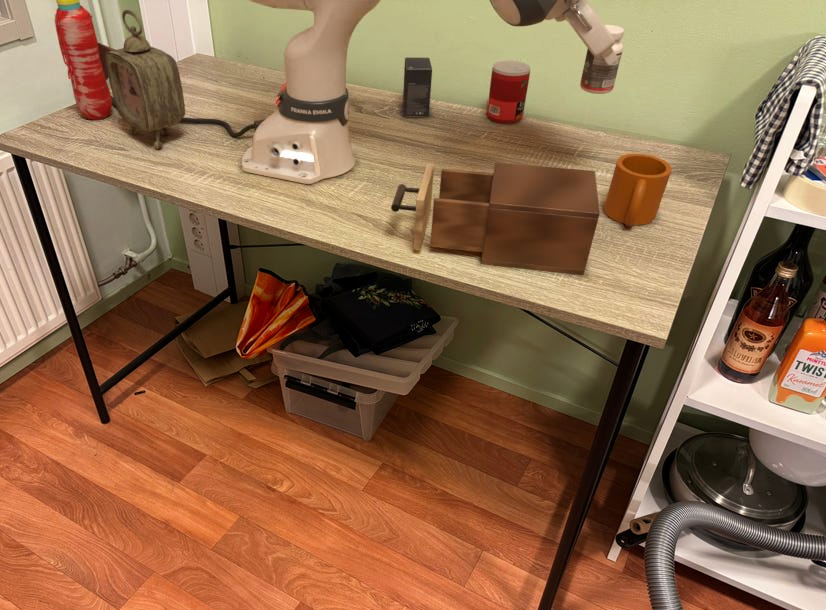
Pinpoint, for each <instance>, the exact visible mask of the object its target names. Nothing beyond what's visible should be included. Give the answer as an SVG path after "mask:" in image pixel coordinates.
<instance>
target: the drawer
mask: <svg viewBox="0 0 826 610" xmlns="http://www.w3.org/2000/svg"><path fill="white" fill-rule="evenodd" d="M434 171H435V164H434V163H426V165H425V170H424V172H423V176H422V180H421V182H420V186H419V188H417V187H407V186H406V185H405V184H403V183H401V184H398V186H397V188H396V191H395V194H394V197H393V200H392V203H391V206H390V210H391V211H392V212H394V213H398V212H399V211H400V210H401V211H411V212H415V213H414V214H415V218H414V231H413V232H414V233H413V250H414V251H415V250H417V251H421V250H422V248H423V247H422V246H423V243H424V239H425V235H426V231H427V227H428V223H429V220H430V215H431V212H432V217H431V218H432V219H431V229H430V242H429V243H430V244H429V247H432V248H442V249H451V250H459V251H467V252H468V251H469V252H477V253H483V247H484V240H485V233H486V225H487V218H488V211H489V204H490V196H491V188H492V181H493V173H494V172H487V171H485V172H484V171H475V170H465V169H464V170H462V169H452V168H441V171H440V183H439V195H438V197H434V198H433V184H434ZM406 193H414V194H417V196H416V200H415V205H407V204H402V203H403V200H404V197H405V194H406ZM432 198H433V205H432ZM432 206H433V207H432ZM431 208H432V209H431Z"/></svg>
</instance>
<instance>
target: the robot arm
mask: <svg viewBox="0 0 826 610" xmlns="http://www.w3.org/2000/svg"><path fill="white" fill-rule="evenodd" d="M248 1H250V2H253V3H255V4H258V5H262V6H264V7H269V8H272V9H278V10H279V9H280V10H296V11H309V12H312V13H313V24H312V26H310V27H308V28H305V29H304V30H302V31H300V32H299V33H297V34H295V35H294V36H292V37H291V38H290V39H289V40H288V42H287V44H286V45H285V48H284V53H283V58H284V73H285V83H283V84H282V86H281V87H280V89H279V92H278V93H277V95H276V99H275V101H274V102H275V107H276V108H277V110H275V111H274V112H273V113H272V114H271V115H269V116H268V117H266V118H263V119H258V120H253V122H252V123H251V124H248V125H246V126H244V127H243V128H242V129H240V130H239V131H238V132H234V131H233V128H232V127H231V125H230V124H229V123H228V122H227V121H225V120H222V119H217V118H201V117H200V118H198V117H197V118H196V117H183V118H182V120H181V121H180V122H179V123H188V124H189V123H192V124H215V125H220V126H223V127H225V129H226V130H227V132H228V134H229V135H230V136H231V137H232V138H240V137H242V136H243V135H245V134H246V133H247V132H248V131H250V130H254V131H253V132H254V134H253V136H252V141H251V145H250V146H249V147H248V148H247V150H246V151H245V152H244V153H243V155H242V158H241V169H242V171H243V172H246V173H250V174H255V175H259V176H264V177H268V178H269V177H270V178H274V179H280V180H284V181H291V182H293V183H300V184H304V185H305V184H306V185H312V184H315V183H318V182H319V181H320V182H321V181H322V180H325V179H331V178H335V177H339V176H341V175H343V174H345V173H347V172H349V171H350V170H352V169H353V168H354V166H355V165H356V157H355V155H354V152H353V147H352V143H351V137H350V131H349V120H350V98H349V89H348V88H347V61H348V49H349V44H350V41H351V38H352V35H353V33H354V31H355V29H356V28H357V26H358V25H359V23H360V22H361V20H362V19H364V18H365V16H366V15H367V14H369V12H371V11H372V10H374V9H375V8H376V7H377V6H378V5H379V3H380V2H381V1H382V0H248ZM587 1H588V0H489V2H490V4H491V6H492V8H493V10H494V12H495V13H496V14H497V15H498V17H500V19H502V20H503V21H504V22H505V23H506V24H508V25H510V26H512V27H528V26H533V25H538V24H540V23H542V22H544V21H551V20H555V22H557V23H559V22H560V23H562V22H564V21H566V22H567V23H568V24H569V25H570V27H572V29H573V30H574V32H575V33H576V34H577V36H578V38H579V39H580V40H581V41H582V43H583V44H584V46H586V48H587V49H589V51H590V52H591V53H592V55H593V56H594V57H596V58H599V57H600V56H601V57H602V58H603V59H604V60H605V61H606V63H607V64H608V65H612V64H613V63H614V62H615V61H616V60H617V59H618V57H617V55H616V54H615V52H614V51H613V49H612V46H613V45H614V44H615V40H614V38H613V36H612V35H611V34H610V32H609V31H608V29H607V28H606V27H605V25H606V24H605V23H604V22H603V21H602V19H601V18H600V17H599V16H598V14H597V13H596V11H595V10H594V9H593V8H592V6H591V5H590V4H589V3H588V2H587ZM111 99H112V106H113V107H115V108H116V109H117V107H116V104H115V101H114V97H113V95H111Z"/></svg>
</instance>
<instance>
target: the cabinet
mask: <svg viewBox="0 0 826 610" xmlns="http://www.w3.org/2000/svg"><path fill="white" fill-rule="evenodd" d="M492 173H493V181H492V188H491V196H490V204H489V211H488V218H487V225H486V233H485V240H484V247H483V252H481V253H482V254H481V262H480V263H481V265H489V266H498V267H507V268H516V269H525V270H534V271H543V272H553V273H562V274H571V275H579V276H584V274H585V271H586V268H587V264H588V259H589V256H590V252H591V248H592V245H593V241H594V237H595V235H596V230H597V226H598V222H599V218H600V214H601V212H600V203H599V194H598V186H597V177H596V176H597V175H596V170H590V169H589V170H588V169H577V168H566V167H555V166H553V167H552V166H541V165H531V164H530V165H529V164H519V163H518V164H517V163H509V162H507V163H506V162H497V161H495V162H494V166H493V172H492Z"/></svg>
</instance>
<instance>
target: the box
mask: <svg viewBox="0 0 826 610" xmlns="http://www.w3.org/2000/svg"><path fill="white" fill-rule="evenodd" d="M432 78H433V67H432V62H431V58H430V57H407V56H406V57H405V58H404V70H403V88H402V89H403V90H402V91H403V92H402V109H403V116H404V117H405V118H429V116H430V104H431V91H432Z"/></svg>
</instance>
